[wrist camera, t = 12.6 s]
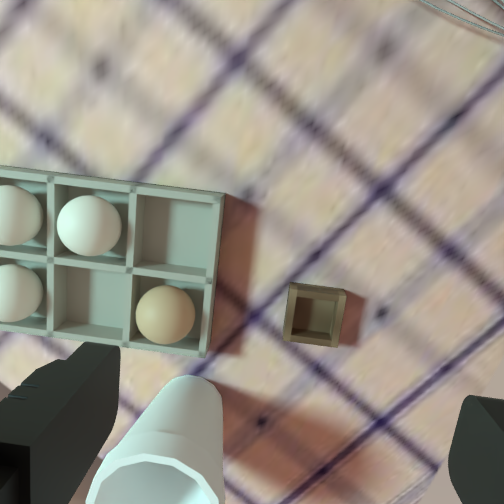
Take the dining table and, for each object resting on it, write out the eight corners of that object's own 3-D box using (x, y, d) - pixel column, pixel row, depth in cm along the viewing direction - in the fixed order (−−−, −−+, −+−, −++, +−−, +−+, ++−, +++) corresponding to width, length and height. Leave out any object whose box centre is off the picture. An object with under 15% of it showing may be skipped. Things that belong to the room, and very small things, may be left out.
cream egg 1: (-1, 179, 37) (-43, 183, 32) (54, 186, 37) (21, 191, 32) (0, 235, 39) (-40, 247, 34) (54, 242, 38) (21, 255, 34)
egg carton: (-11, 163, 38) (-35, 164, 35) (225, 193, 37) (221, 196, 34) (-6, 313, 41) (-28, 326, 38) (210, 343, 40) (204, 358, 37)
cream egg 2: (0, 254, 39) (-39, 269, 34) (54, 261, 39) (22, 277, 34) (1, 306, 40) (-37, 327, 35) (54, 312, 40) (22, 335, 35)
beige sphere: (147, 274, 38) (128, 292, 34) (202, 281, 38) (190, 301, 33) (144, 325, 40) (125, 350, 35) (197, 332, 40) (185, 358, 35)
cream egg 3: (75, 189, 37) (44, 195, 32) (131, 196, 37) (109, 203, 32) (74, 245, 38) (44, 258, 33) (128, 252, 38) (106, 266, 33)
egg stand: (290, 282, 38) (290, 288, 37) (343, 288, 38) (346, 296, 36) (282, 331, 40) (282, 340, 38) (334, 338, 39) (337, 347, 37)
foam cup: (190, 462, 44) (153, 589, 31) (124, 400, 42) (59, 506, 30) (258, 407, 42) (249, 519, 29) (191, 341, 40) (152, 428, 28)
